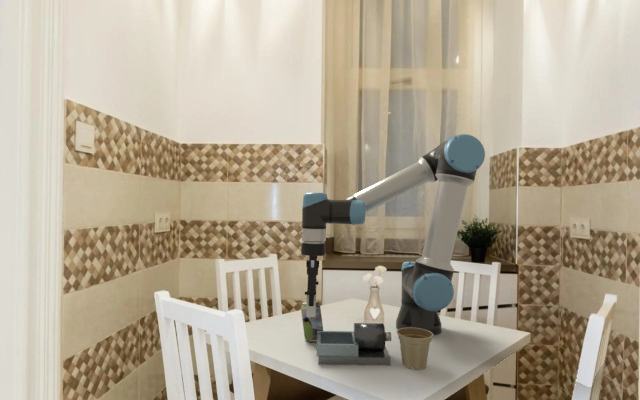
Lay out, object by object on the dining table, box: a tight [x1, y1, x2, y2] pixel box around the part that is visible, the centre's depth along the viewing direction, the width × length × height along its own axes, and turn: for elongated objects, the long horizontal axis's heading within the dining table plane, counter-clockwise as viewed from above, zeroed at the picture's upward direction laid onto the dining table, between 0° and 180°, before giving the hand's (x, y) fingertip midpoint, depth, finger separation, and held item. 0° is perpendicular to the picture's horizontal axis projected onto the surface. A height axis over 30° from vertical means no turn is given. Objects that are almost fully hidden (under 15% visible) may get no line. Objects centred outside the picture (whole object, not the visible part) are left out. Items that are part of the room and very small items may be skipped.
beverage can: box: [300, 300, 324, 342], centre depth 127 cm, size 6×7×12 cm
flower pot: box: [396, 327, 434, 371], centre depth 108 cm, size 9×9×9 cm
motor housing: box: [316, 322, 392, 366], centre depth 114 cm, size 20×13×9 cm, turn 90°
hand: (311, 310), depth 128 cm, fingers open, 13 cm apart
